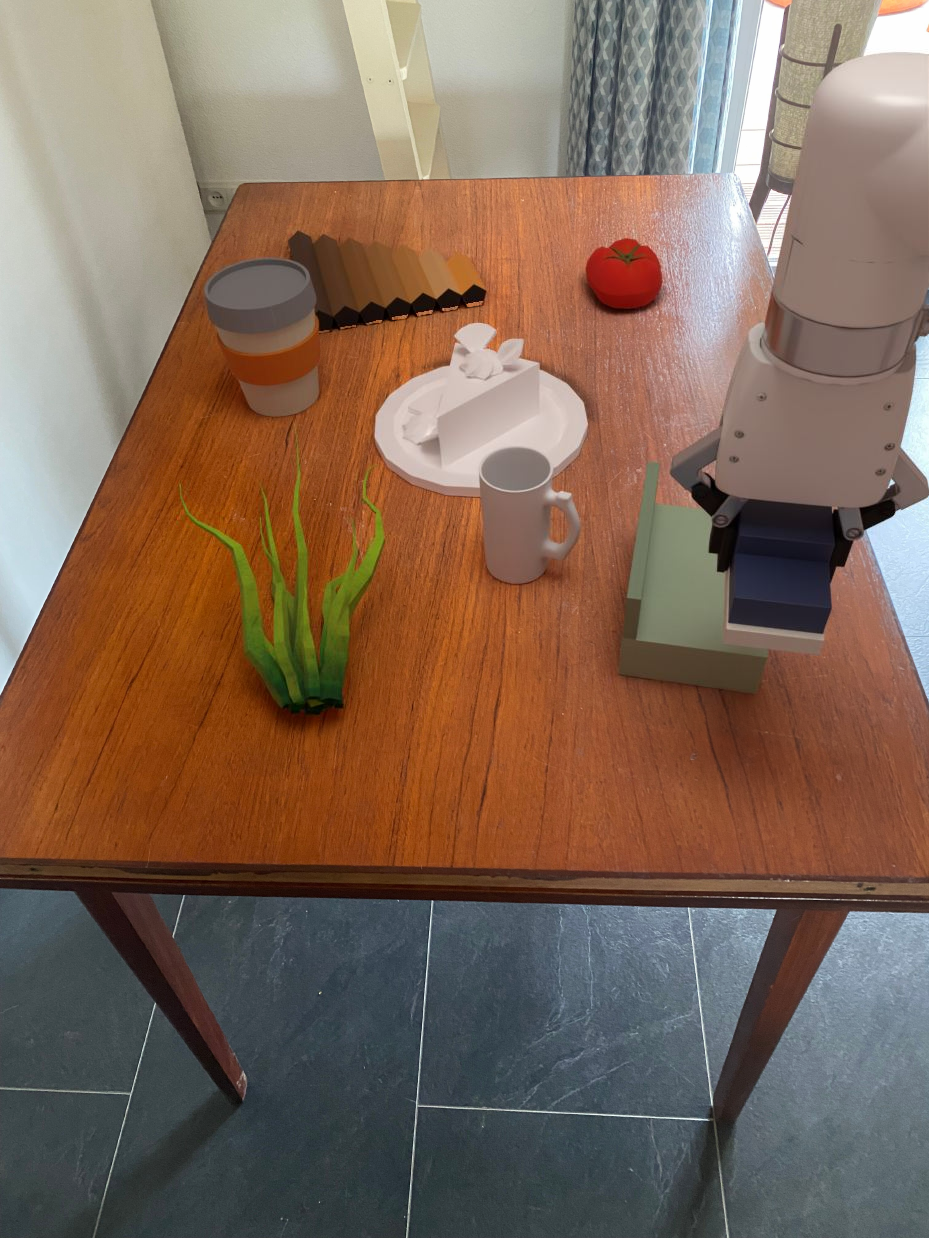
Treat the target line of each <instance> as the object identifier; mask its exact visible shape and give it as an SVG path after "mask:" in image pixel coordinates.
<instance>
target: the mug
mask: <svg viewBox="0 0 929 1238" xmlns="http://www.w3.org/2000/svg"><path fill="white" fill-rule="evenodd" d="M553 479H554V477H553V465H552V462H551V460H550V459H549V458H548V457H547V456H546V455H545V454H544V453H542V452H541V451H539V450H537V449H534V448H530V447H525V446H508V447H503V448H499V449H496V450H494V451H492V452H490V453H489V454H487V455H486V456H485V457H484V458H483V459H482V460H481V462H480V465H479V482H480V496H481V497H480V507H481V508H480V509H481V518H482V519H481V520H482V530H483V531H482V532H483V533H482V534H483V546H484V556H485V565H486V568H487V570H488V572H489V574H490V575H492V576H493V578H495V579H496V580H498V581H500V582H502V583H506V584H511V585H522V584H527V583H531V582H534V581H535V580H537V579H539V578H540V577H541V576H542V575H543V574H545V572H546V570H547V568H548V565H549V559H553V560H555V561H558V562H564V561H565V560H566V559H567V558H568V556H569V555H570V554H571V552H572V551H573V549H574V547H575V546H576V545H577V543H578V541H579V540H580V539H579V538H580V536H581V528H582V527H581V520H580V516H579V513H578V510H577V507H576V505H575V503H574V500H573V494H572V493H571V492H567V491H563V490H560V491H559V492H558V491H557V492H556V491H554V489H553ZM552 506H553V507H555V508H557V509H559V511H561V512H562V513H563V515H564V516H565V518H566V520H567V524H568V534H567V537H566V538H565V541H563V542H561V543H559V542H555V541H553V540H551V537H550V536H551V518H552V517H551V516H552Z"/></svg>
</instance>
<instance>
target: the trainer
mask: <svg viewBox="0 0 929 1238" xmlns="http://www.w3.org/2000/svg"><path fill="white" fill-rule="evenodd" d="M832 513H833V507H832V506H819V505H808V504H797V503H787V502H776V501H766V500H757V499H749V501H748V502H747V503H746V504H745V506H744V507H743V508H742V509H741V510H740V512H739V513H738V514H737V532H736V537H735V542H734V546H733V551H732V555H731V559H730V564H729V568H728V571H725V593H724V622H723V644H729V645H738V646H746V647H754V648H762V649H768V650H773V651H778V652H779V651H781V652H786V653H787V652H788V653H796V654H804V655H810V656H811V655H812V656H820V654H821V652H822V649H823V647H824V644H825V641H826V638H825V629H826V626H827V624H828V621H829V618H830V616H831V613H832V609H833V603H832V601H833V600H832V588H831V584H830V573H829V561H830V558H831V555H832V552H833V549H834V546H835V540H834V527H833V515H832Z"/></svg>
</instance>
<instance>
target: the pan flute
mask: <svg viewBox="0 0 929 1238" xmlns="http://www.w3.org/2000/svg"><path fill="white" fill-rule="evenodd" d="M287 243H288V248H289V251H290V256H291V260H292V261H295V262H298V263H300V264H301V265H303V266H304V267H305V268H306V269H307V270H308V272H309V274H310V277H311V281H312V284H313V287H314V291H315V294H316V304H315V307H314V311H315V315H316V316H317V318H318V320H319V331H324V330H330V329H331V330H332V329H333V328H332V327H333V322H334V321H335V322H336V324H337V327H338V328H339V327H345V326H352V325H356V324H357V325H358V323H359V317H360V316H361V319H362V321H363V322H364V324H365V323H369V322H373V321H376V320H384V315H385V312H387V314H388V317H389V318H390V319H391V318H392V317H395V316H402V315H407V314H408V315H409V314H410V310H411V307H412V309H413V311H414V313H415V314H416V313H418V312H424V311H429V310H435V307H436V303H437V304H438V306H439V309H440V310H441V309H442V308H450V307H455V306H460V303H461V300H462V301H463V302H465V303H464V305H465V304H468V303H473V302H479V301H484V302H485V299H486V295H487V291H488V290H487V288H486V286H485V284H484V283H483V280H482V279H481V276H480V275H479V273H478V272H477V269H476V267H475V265H474V264H473V262H472V260H471V258H470V257H468V256H466V255H464V254H462V253H461V252H459V251H456V252H455V253H454V254H453V255H452V256H450V257H449V259H448V260H445V257H444V255H443V253H440V252H438V251H436V250H435V249H433V248H430V247H428V248H427V250H425V251H424V252H423V254H421V255H420V256H419V257H418V255H417V252H416V250H414V249H412V248H410V247H408V246H406V245H404V244H401V245H399V247H397V248H396V249H395V250H394V251H393V252H392V253H391V250H390V248H389V247H388V246H387V245H384V244H382V243H381V242H378V241H377V240H375V241H373V242H372V243H371V244H370V245H369V246H368V247H367V248H366V249H365V248H364V245H363V243H361V242H360V241H358V240H356V239H354V238H352V237H350V236H349V237H347V238H346V239H345V240H344V241H343V242H342V243H341V245H340V246H339V244H338V241H337V240H336V239H334V238H333V237H331V236H328V235H327V234H326V233H322V234H321V235H320V236H319V237H318V238H317V239H316V240H315V241H314V242H313V239H312V236H310V235H309V234H306V233H304V232H302V231H300V230H296V231H295V232H294V234H292V235H291V236H290V238H288V239H287ZM333 320H334V321H333Z"/></svg>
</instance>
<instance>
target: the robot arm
mask: <svg viewBox="0 0 929 1238" xmlns="http://www.w3.org/2000/svg"><path fill="white" fill-rule="evenodd" d="M792 186H793V187H792V192H791V196H790V201H789V206H788V210H787V215H786V219H785V226H784V231H783V236H782V240H781V245H780V250H779V254H778V257H777V262H776V267H775V271H774V272H775V273H774V277H773V283H772V287H771V291H770V296H769V300H768V306H767V309H766V315H765V320H764V321H762V322H758V323H756V324H755V325H753V326H752V327H751V328H749V331H748V333H747V335H746V337H745V339H744V341H743V344H742V346H741V349H740V351H739V354H738V357H737V359H736V362H735V364H734V368H733V371H732V373H731V377H730V379H729V383H728V388H727V391H726V395H725V398H724V403H723V406H722V411H721V415H720V419H719V424H718V427H717V428H715V429H714V430H712V431H710V432H709V433H707V434H706V435H704V436H703V437H701V438H700V439H698V440H696V441H695V442H694V443H691V444H690V445H689V446H687V447H686V448H684V449H682V450H681V451H679V452H677V453H676V454H675V455H673V456H672V457H671V459H670V467H669V476H671V477H672V478H673V479H674V480H675V481H676V483H678V484H679V485H680V486H681V487H682V488H683V489H684V490H685V491H688V492H689V494H691V498H692V499H693V501H694V502H695V503H696V504H697V505H698V506H699V507H700V508H702V509H704V510H705V511H706V512H707V513H708V514H709V515H710V516H711V517H712V528H711V533H710V539H709V550H708V553H713V554H717V572H722V573H725V571H728V568H729V564H730V559H731V555H732V551H733V546H734V542H735V537H736V532H737V514H738V513H739V512H740V510H741V509H742V508H743V507H744V506H745V504H746V503H747V502H748V501H749V499H757V500H766V501H776V502H787V503H797V504H808V505H819V506H832V508H833V509H832V515H833V527H834V540H835V546H834V549H833V552H832V555H831V558H830V561H829V573H830V585H831V584H832V582H833V578H834V575H835V574H836V573H835V572H836V569H837V567H838V568H845V566H846V564H847V561H848V558H849V555H850V552H851V550H852V547H853V545H854V541H858V540H860V539H862V538H863V537H864V535H865V531H867V530H868V529H871V528H873V527H875V526H877V525H879V524H881V523H883V522H885V521H887V520H889V519H891V518H893V517H894V516H895V515H896V512H898V511H903V510H905V509H907V508H910V507H911V506H914V505H915V504H918V503H921V502H922V501H924V500H926V499H927V498H929V482H928V479H927V477H926V476H925V474H924V473H923V472H922V471H921V469H920V468H919V467H918V465H916V463H915V462H914V461H913V460H912V459H911V458H910V456H909V455H908V454H907V453H906V451H904V449H903V448H902V442H903V438H904V434H905V431H906V426H907V422H908V416H909V412H910V407H911V404H912V403H911V402H912V398H913V393H914V385H915V376H916V370H917V369H916V367H917V344H916V343H917V341H918V340H919V338H920V337H924V338H926V337H928V335H929V304H927V301H926V296H927V294H928V291H929V53H923V52H921V53H920V52H908V51H907V52H906V51H897V52H896V51H894V52H893V51H892V52H879V53H872V54H867V55H863V56H859V57H855V58H851V59H849V60H846V61H845V62H843V63H840V64H839V65H837V66H835V67H834V68H833V69H832V70H831V71H829V72H828V73H827V75H825V77H824V78H823V79H822V80H821V82H820V83H819V85H818V87H817V88H816V90H815V93H814V95H813V97H812V100H811V104H810V107H809V111H808V115H807V119H806V123H805V129H804V133H803V139H802V142H801V147H800V152H799V157H798V162H797V167H796V172H795V176H794V181H793V185H792ZM713 462H715V466H714V471H715V473H714V477H713V476H711V474H709V473H708V472H705V471H703V469H704V468H706V467H707V466H709V465H711V464H712V463H713ZM891 481H893V482H894V483H893V484H891V485H890V483H891Z"/></svg>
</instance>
